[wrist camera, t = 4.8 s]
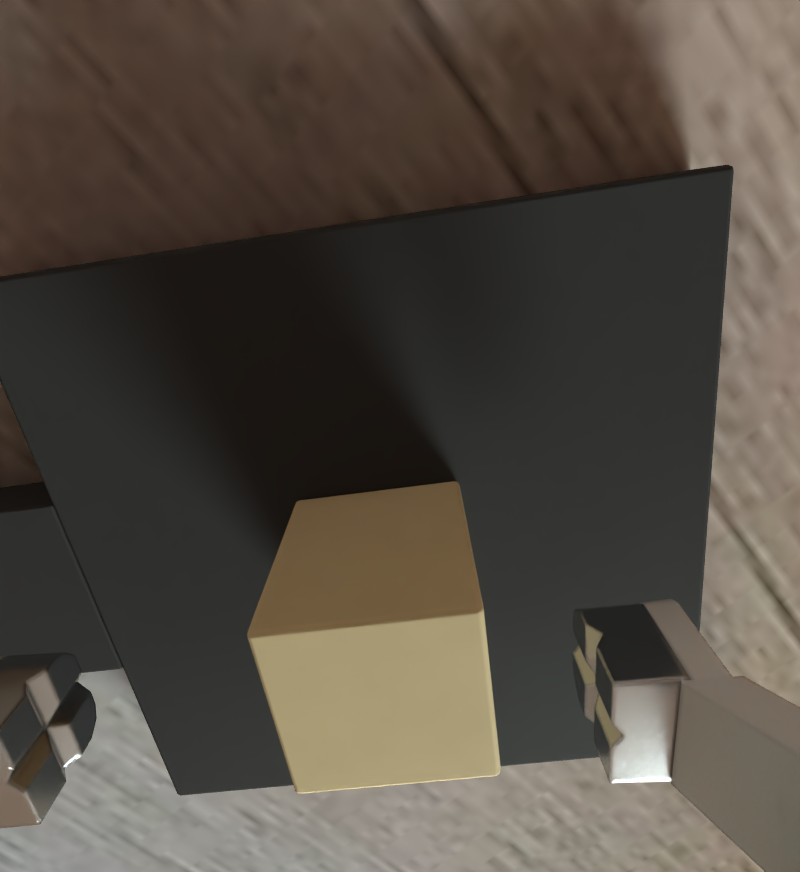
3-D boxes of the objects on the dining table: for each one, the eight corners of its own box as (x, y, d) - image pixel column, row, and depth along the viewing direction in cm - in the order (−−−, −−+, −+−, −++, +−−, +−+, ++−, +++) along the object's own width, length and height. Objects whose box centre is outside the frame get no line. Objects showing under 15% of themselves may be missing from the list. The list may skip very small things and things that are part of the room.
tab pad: (696, 168, 9) (961, 131, 5) (668, 706, 14) (792, 939, 9) (-150, 300, 10) (-573, 368, 6) (84, 762, 15) (-54, 999, 10)
